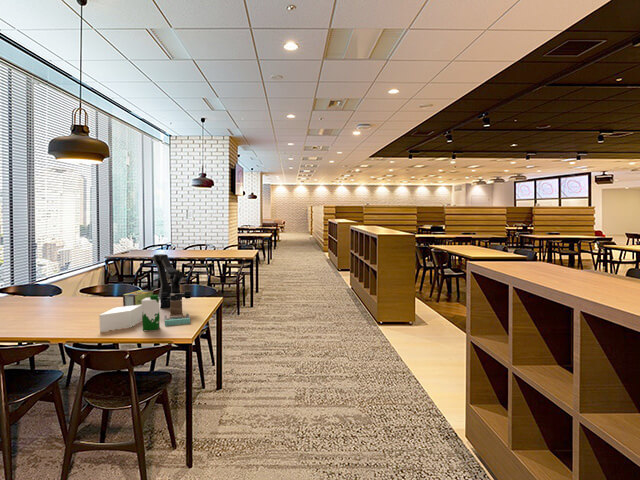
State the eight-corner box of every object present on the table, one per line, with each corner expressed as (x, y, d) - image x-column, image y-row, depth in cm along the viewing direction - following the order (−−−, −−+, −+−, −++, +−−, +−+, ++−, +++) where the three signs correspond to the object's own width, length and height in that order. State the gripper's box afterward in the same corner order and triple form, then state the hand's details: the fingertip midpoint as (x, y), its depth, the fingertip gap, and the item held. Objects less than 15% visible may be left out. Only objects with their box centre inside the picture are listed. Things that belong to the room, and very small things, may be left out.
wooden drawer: (169, 317, 255) (169, 300, 254) (183, 316, 258) (182, 300, 257) (169, 323, 242) (168, 306, 241) (183, 322, 244) (182, 305, 244)
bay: (164, 319, 251) (164, 314, 250) (188, 317, 256) (188, 312, 256) (165, 325, 237) (164, 320, 237) (190, 323, 242) (190, 318, 242)
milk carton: (156, 331, 227) (155, 296, 225) (140, 331, 226) (139, 297, 224) (161, 326, 235) (160, 293, 234) (145, 326, 235) (144, 293, 233)
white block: (151, 321, 246) (151, 305, 246) (108, 334, 221) (107, 316, 220) (135, 318, 253) (135, 302, 252) (92, 330, 227) (91, 313, 227)
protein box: (153, 313, 264) (152, 290, 263) (136, 319, 250) (135, 295, 249) (141, 312, 268) (140, 289, 266) (123, 318, 253) (122, 294, 252)
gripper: (189, 292, 275) (191, 311, 265) (160, 294, 267) (161, 314, 258) (190, 283, 267) (192, 302, 257) (160, 285, 260) (161, 305, 250)
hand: (176, 306), depth 256 cm, fingers closed
